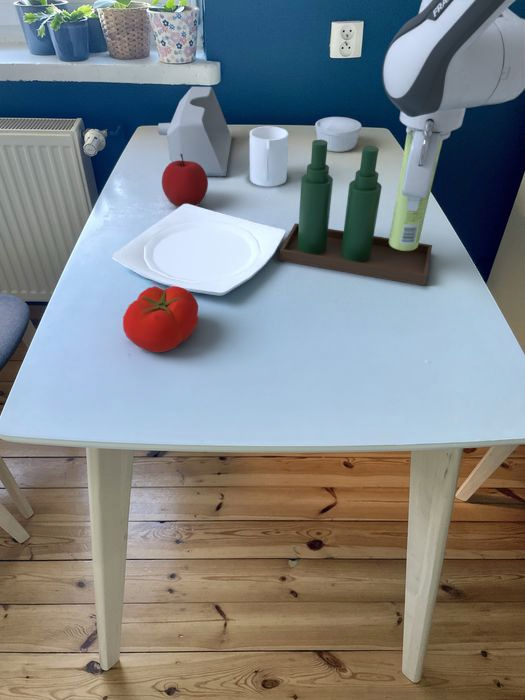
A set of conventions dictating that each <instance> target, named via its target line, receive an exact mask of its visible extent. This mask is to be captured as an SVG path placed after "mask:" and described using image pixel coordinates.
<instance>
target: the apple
mask: <svg viewBox="0 0 525 700" xmlns="http://www.w3.org/2000/svg"><path fill="white" fill-rule="evenodd" d="M180 155H181V158H182V161H174V162H172V161H171V162H170V163H168V165H167V166H165V169H163V173H162V176H161V188H162V192H163V194H164V195H165V197H166V198H167V200H168V201H169V202H170V203H171V204H172V205H173V206H175V207H178V208H179V207H180V206H182V205H183V204H190V205H193V206H199V205H200V204H201V203H202V202H203V200H204V199H205V197H206V195H207V192H208V188H209V180H208V176H206V173H205V171H204V169H203V168H202V167H201V165H199V164H198V163H196V162H191V161H183V155H182V154H180Z"/></svg>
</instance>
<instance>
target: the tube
mask: <svg viewBox="0 0 525 700" xmlns="http://www.w3.org/2000/svg"><path fill="white" fill-rule="evenodd" d="M411 132H412V130H409V131H408V132H406V137H405V143H404V150H403V156H402V164H401V169H400V175H399V180H398V187H397V192H396V199H395V204H394V210H393V215H392V220H391V227H390V232H389V237H388V238H389V244H390V246H391V247H393V248H395V249H397V250H401V251H410V250H414V249H416V248H417V247H418V244H419V243H420V239H421V235H422V231H423V226H424V221H425V217H426V213H427V209H428V204H429V199H430V195H431V191H432V187H433V182H434V178H435V173H436V171H437V166H438V161H439V157H440V153H441V149H442V145H443V141H444V140H440V141H439V147H438V152H437V156H436V161H435V165H434V170H433V174H432V179H431V183H430V188H429V192H428V195H427V197H426V198H421V199H420V202H419V206H418V210H417V211H410V210H407V209H406V205H407V200H408V196H404V195H403V194H402V187H403V181H404V176H405V171H406V166H407V161H408V156H409V151H410V147H411V143H412V140H413V137H412V136H411ZM418 166H419V165H418ZM422 166H423V165H422ZM420 167H421V166H420Z"/></svg>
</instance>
